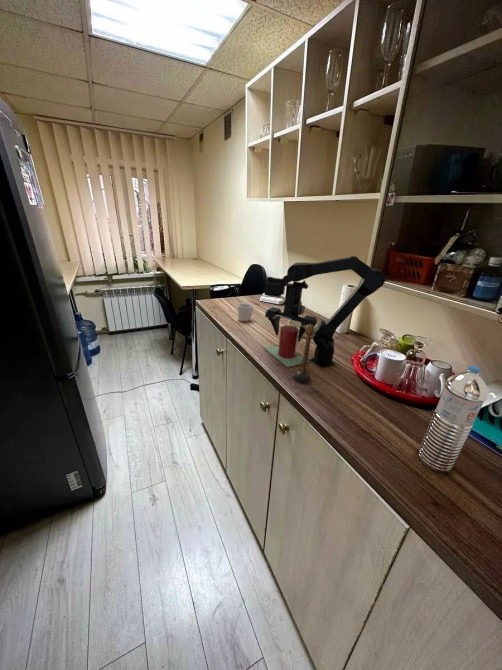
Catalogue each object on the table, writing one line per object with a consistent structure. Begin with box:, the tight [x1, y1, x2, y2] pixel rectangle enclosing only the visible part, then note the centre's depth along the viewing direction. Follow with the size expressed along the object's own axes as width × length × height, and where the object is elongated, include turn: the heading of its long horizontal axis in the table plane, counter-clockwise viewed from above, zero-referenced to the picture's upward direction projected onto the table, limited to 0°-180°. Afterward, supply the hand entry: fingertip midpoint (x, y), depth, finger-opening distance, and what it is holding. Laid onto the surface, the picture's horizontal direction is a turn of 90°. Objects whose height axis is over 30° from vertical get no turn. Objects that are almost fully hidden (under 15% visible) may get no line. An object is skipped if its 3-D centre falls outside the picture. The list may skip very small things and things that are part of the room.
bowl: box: [286, 319, 318, 338], centre depth 130 cm, size 14×14×4 cm
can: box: [278, 325, 298, 358], centre depth 105 cm, size 7×7×11 cm
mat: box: [264, 345, 310, 368], centre depth 107 cm, size 16×10×1 cm, turn 29°
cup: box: [237, 302, 254, 322], centre depth 141 cm, size 11×8×8 cm
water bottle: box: [417, 364, 489, 474], centre depth 58 cm, size 7×7×25 cm
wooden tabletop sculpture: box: [294, 324, 315, 384], centre depth 89 cm, size 6×5×20 cm
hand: (287, 338), depth 105 cm, fingers open, 9 cm apart
